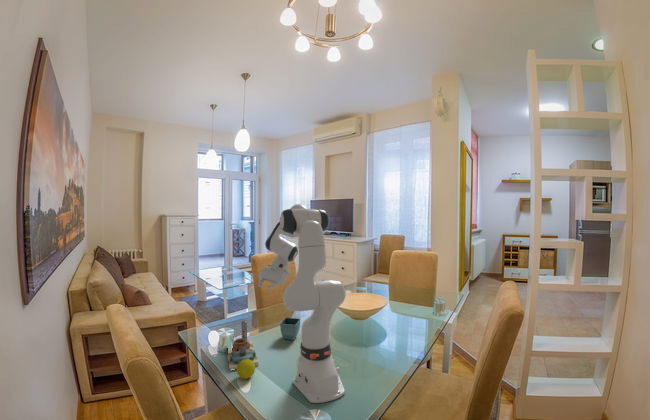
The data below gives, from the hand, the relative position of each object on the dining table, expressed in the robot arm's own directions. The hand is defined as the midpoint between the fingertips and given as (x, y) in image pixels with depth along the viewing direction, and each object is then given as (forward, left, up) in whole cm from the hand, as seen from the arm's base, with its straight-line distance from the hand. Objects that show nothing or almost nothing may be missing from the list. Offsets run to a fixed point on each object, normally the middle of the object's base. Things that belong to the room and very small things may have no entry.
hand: (264, 287), depth 160 cm
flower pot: (-11, -12, -25) cm, 30 cm away
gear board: (-21, +14, -25) cm, 36 cm away
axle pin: (-5, +11, -25) cm, 28 cm away
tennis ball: (-39, +14, -25) cm, 49 cm away
